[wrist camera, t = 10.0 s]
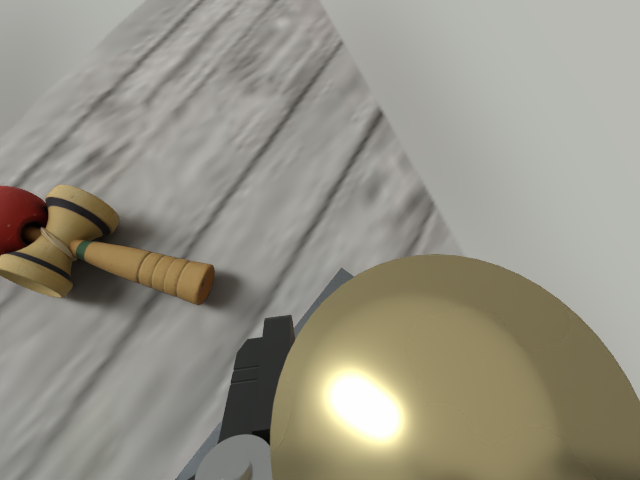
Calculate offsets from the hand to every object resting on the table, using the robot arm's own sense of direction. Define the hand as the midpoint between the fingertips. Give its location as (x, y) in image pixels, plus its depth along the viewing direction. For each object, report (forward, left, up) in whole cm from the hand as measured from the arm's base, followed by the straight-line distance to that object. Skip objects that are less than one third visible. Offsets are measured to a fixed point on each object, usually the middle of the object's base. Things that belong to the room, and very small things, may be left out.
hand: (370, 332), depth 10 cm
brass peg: (+1, -1, -5) cm, 5 cm away
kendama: (-19, -5, -15) cm, 25 cm away
